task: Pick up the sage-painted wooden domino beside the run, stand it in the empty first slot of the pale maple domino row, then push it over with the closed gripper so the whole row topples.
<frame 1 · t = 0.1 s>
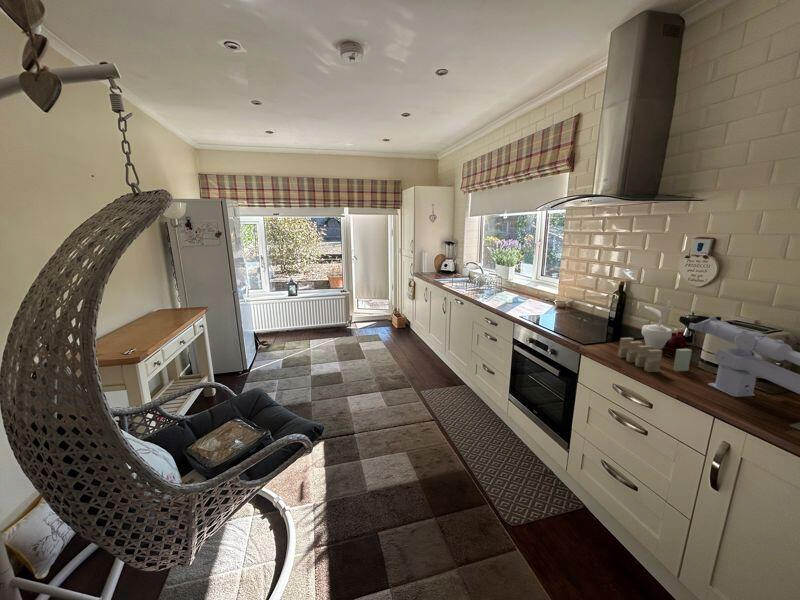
hand: (689, 318, 135), 22 cm above the countertop, tool horizontal, fingers open, 7 cm apart
domino 4: (632, 361, 147), on the countertop
potted plant: (653, 347, 163), on the countertop
domino 5: (624, 357, 152), on the countertop
domino 2: (651, 370, 137), on the countertop
domino 1: (680, 370, 137), on the countertop
domino 3: (641, 365, 142), on the countertop
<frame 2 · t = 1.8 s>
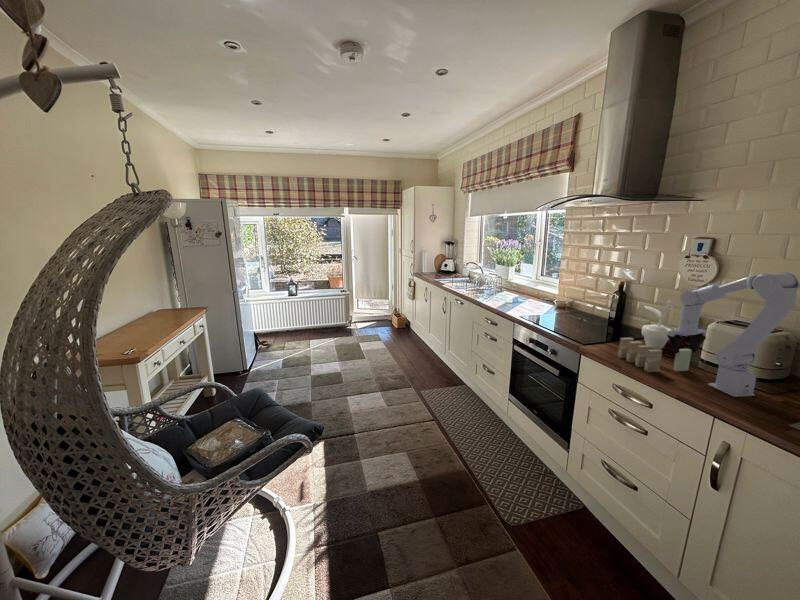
hand: (683, 352, 136), 8 cm above the countertop, tool pointing down, fingers open, 7 cm apart
nothing on the countertop moved.
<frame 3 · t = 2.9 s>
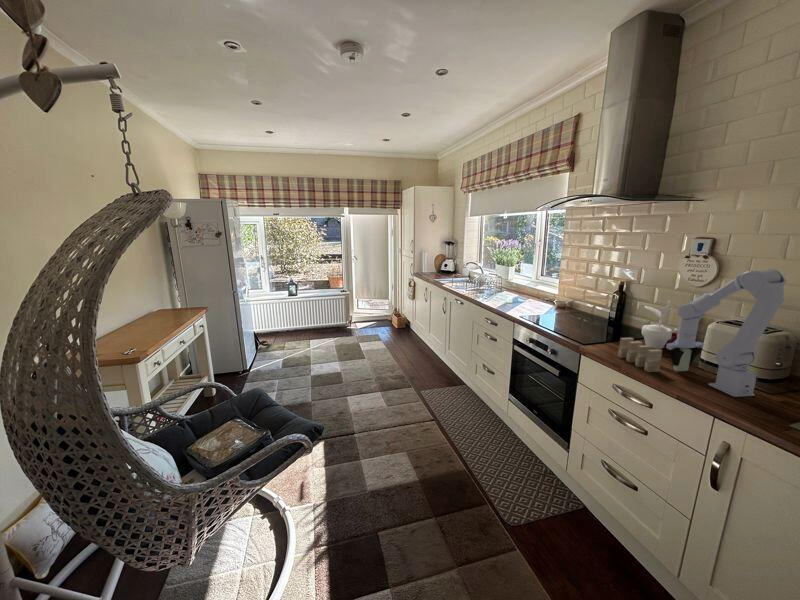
hand: (681, 364, 137), 2 cm above the countertop, tool pointing down, fingers closed on domino 1, 5 cm apart
domino 1: (680, 370, 137), on the countertop, touching gripper
everything else where it was.
when the fingers open (3 cm above the countertop, at t = 6.9 s): domino 1 stays where it is, on the countertop.
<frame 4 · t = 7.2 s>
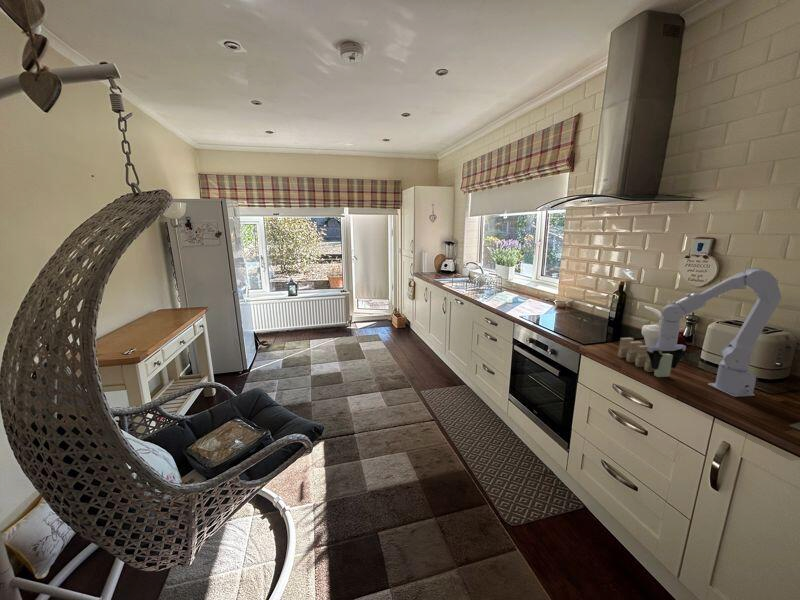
hand: (663, 367, 132), 3 cm above the countertop, tool pointing down, fingers open, 7 cm apart
domino 1: (661, 375, 132), on the countertop
everything else where it was.
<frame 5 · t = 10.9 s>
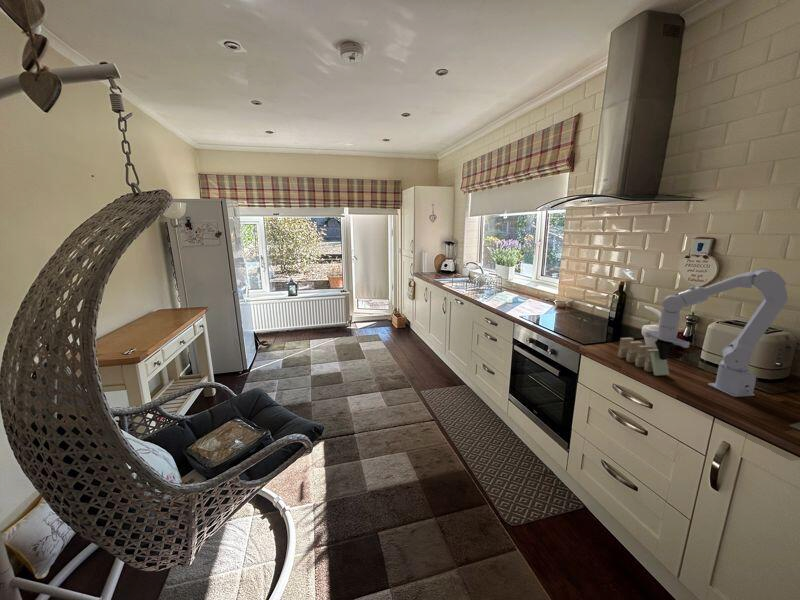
hand: (663, 359, 131), 7 cm above the countertop, tool pointing down, fingers closed
domino 1: (661, 374, 132), on the countertop, tilted 23°
everything else where it was.
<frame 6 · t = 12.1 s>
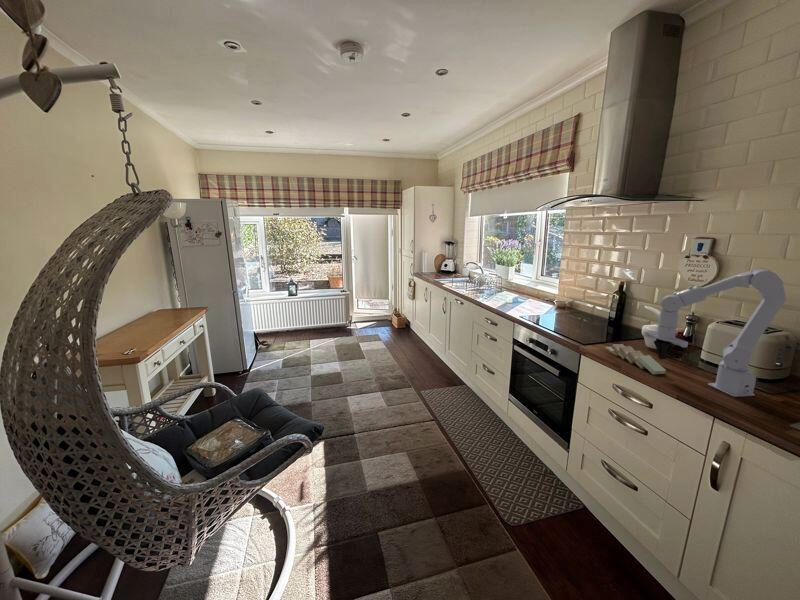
hand: (662, 358, 132), 7 cm above the countertop, tool pointing down, fingers closed
domino 4: (629, 357, 149), point 1 cm above the countertop, tilted 74°, touching domino 3
domino 5: (622, 355, 153), on the countertop, tilted 90°
domino 2: (648, 367, 139), point 1 cm above the countertop, tilted 69°, touching domino 1, domino 3
domino 1: (659, 372, 134), point 1 cm above the countertop, tilted 70°, touching domino 2
domino 3: (637, 361, 144), point 1 cm above the countertop, tilted 68°, touching domino 2, domino 4
everything else where it was.
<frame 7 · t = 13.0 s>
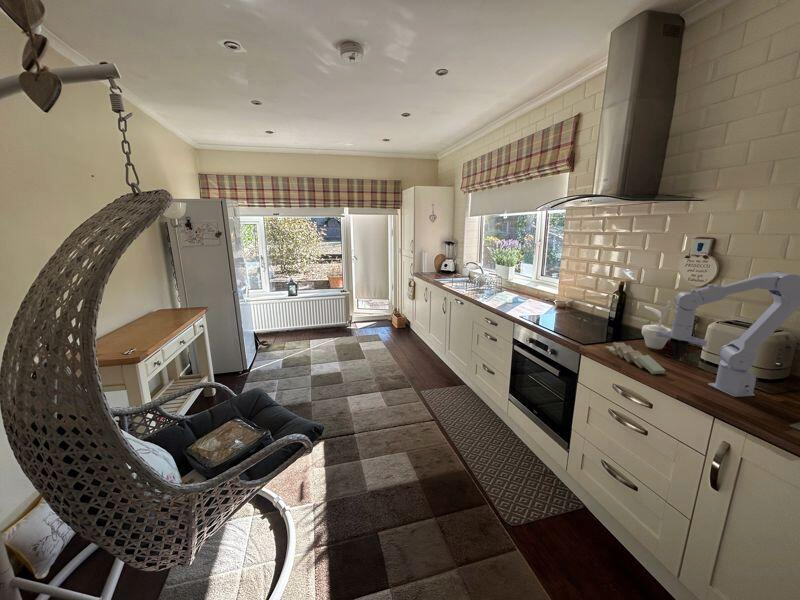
hand: (677, 359, 125), 9 cm above the countertop, tool pointing down, fingers closed
domino 4: (627, 356, 150), point 1 cm above the countertop, tilted 71°, touching domino 3, domino 5
domino 5: (622, 354, 154), on the countertop, tilted 90°, touching domino 4
domino 3: (635, 361, 145), point 1 cm above the countertop, tilted 69°, touching domino 2, domino 4
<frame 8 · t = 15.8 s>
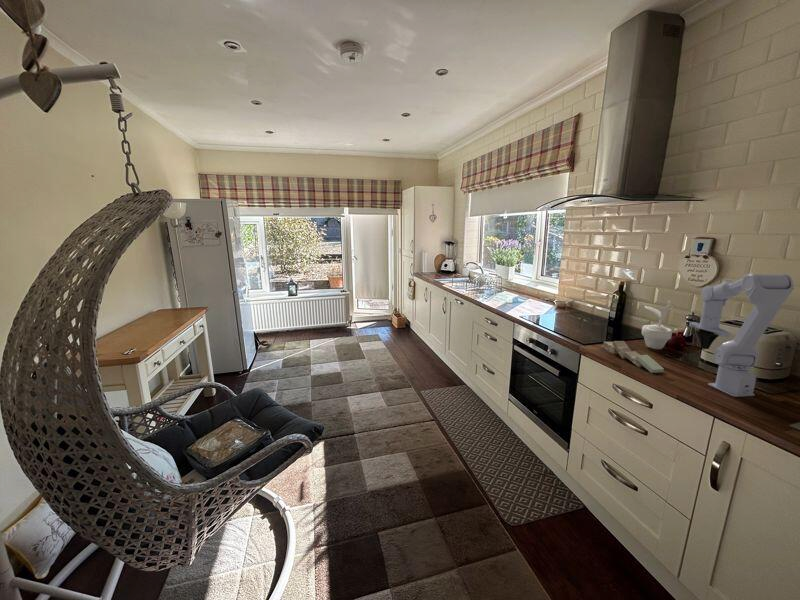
hand: (704, 348, 135), 9 cm above the countertop, tool pointing down, fingers closed
domino 4: (619, 350, 155), point 2 cm above the countertop, tilted 90°
domino 5: (619, 353, 155), on the countertop, tilted 90°
domino 2: (645, 365, 141), point 1 cm above the countertop, tilted 77°, touching domino 1, domino 3
domino 1: (657, 370, 135), point 1 cm above the countertop, tilted 72°, touching domino 2
domino 3: (629, 357, 149), point 1 cm above the countertop, tilted 61°, touching domino 2
everything else where it was.
at the end: domino 5 tilted 90°; domino 1 tilted 72°; the gripper is holding nothing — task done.
